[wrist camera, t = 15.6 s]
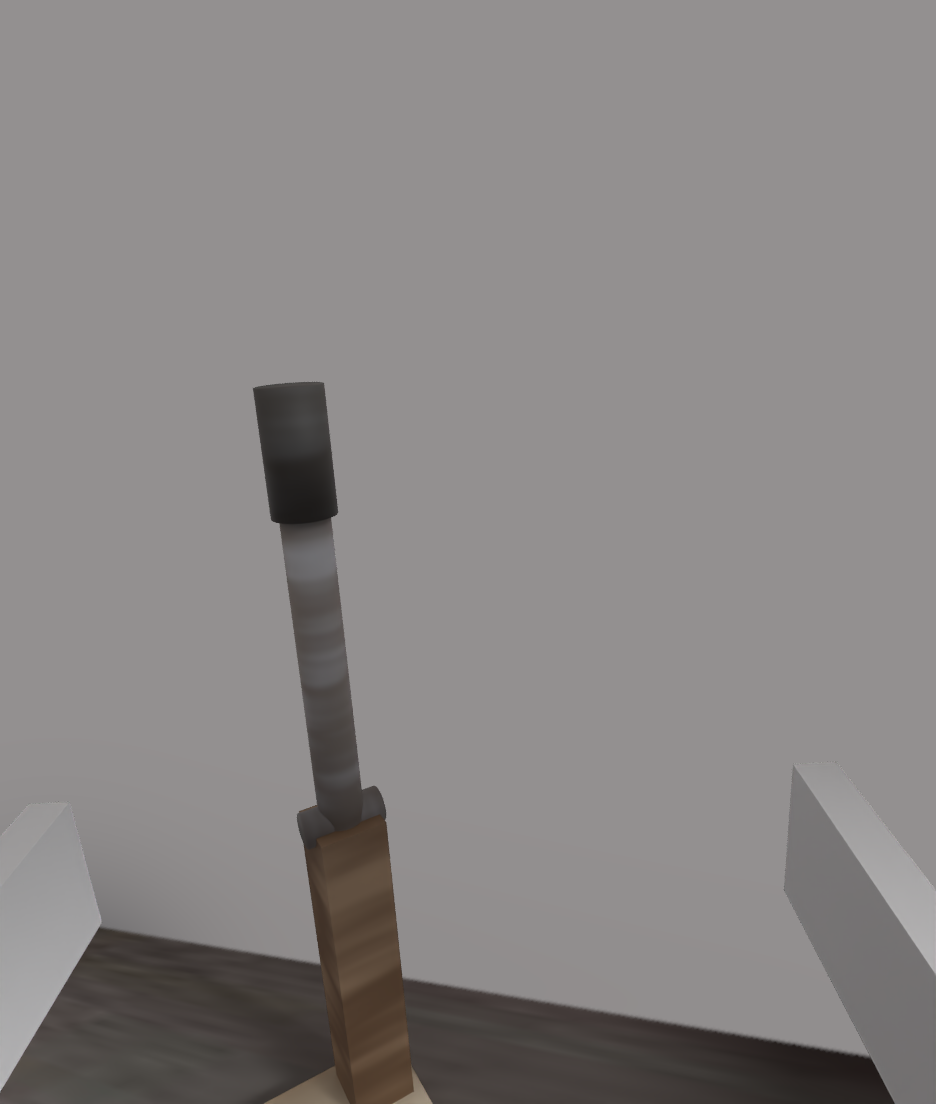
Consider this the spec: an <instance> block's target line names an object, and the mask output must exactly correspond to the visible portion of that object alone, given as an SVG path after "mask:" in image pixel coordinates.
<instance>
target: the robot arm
mask: <svg viewBox="0 0 936 1104" xmlns="http://www.w3.org/2000/svg"><path fill="white" fill-rule="evenodd" d="M787 841H788V842H787V854H786V855H787V856H786V868H785V883H784V891H785V893H786V895H787V897H788V898H789V901H790V903H791V904H792V906H793V908H794V910H795V912H796V914H797V916H798V918H799V920H800V922H801V923H802V925H803V927H804V930H805V931H806V933H807V935H808V937H809V939H810V941H811V943H812V945H813V947H814V949H815V951H816V952H817V955H818V957H819V958H820V960H821V962H822V964H823V966H824V968H825V970H826V972H827V974H828V976H829V978H830V980H831V982H832V983H833V985H834V987H835V989H836V991H837V993H838V995H839V997H840V999H841V1001H842V1003H843V1005H844V1007H845V1009H846V1010H847V1012H848V1014H849V1016H850V1018H851V1020H852V1022H853V1024H854V1026H855V1027H856V1030H857V1032H858V1034H859V1036H860V1037H861V1039H862V1041H863V1043H864V1045H865V1047H866V1049H867V1051H868V1053H869V1055H870V1057H871V1059H872V1061H873V1063H874V1064H875V1066H876V1068H877V1070H878V1072H879V1074H880V1076H881V1078H882V1080H883V1082H884V1084H885V1086H886V1088H887V1090H888V1091H889V1093H890V1095H891V1097H892V1099H893V1101H894V1103H895V1104H936V889H935V888H934V887H933V886H932V885H931V883H930V882H929V880H928V879H927V878H926V877H925V875H924V874H923V873H922V871H921V870H920V869H919V868H918V866H917V865H916V864H915V862H914V861H913V860H912V859H911V857H910V856H909V855H908V853H907V852H906V851H905V850H904V848H903V847H902V846H901V844H900V843H899V842H898V840H897V839H896V838H895V837H894V835H893V834H892V833H891V832H890V830H889V829H888V828H887V826H886V825H885V824H884V822H883V821H882V820H881V819H880V817H879V816H878V815H877V813H876V812H875V811H874V810H873V808H872V807H871V806H870V804H869V803H868V802H867V801H866V799H865V798H864V797H863V795H862V794H861V793H860V792H859V790H858V789H857V788H856V786H855V785H854V784H853V783H852V781H851V780H850V779H849V777H848V776H847V775H846V773H845V772H844V771H843V770H842V768H841V767H840V766H839V764H838V763H837V762H822V763H804V764H793V771H792V785H791V798H790V812H789V826H788V840H787ZM101 923H102V920H101V916H100V913H99V909H98V906H97V901H96V898H95V894H94V890H93V887H92V883H91V879H90V875H89V872H88V868H87V864H86V860H85V857H84V853H83V849H82V846H81V842H80V838H79V835H78V831H77V827H76V823H75V819H74V816H73V812H72V808H71V805H70V802H59V803H58V802H56V803H38V804H28V805H27V807H26V808H25V809H24V810H23V811H22V813H21V814H19V816H18V817H17V818H16V819H15V820H14V821H13V822H12V824H11V825H10V826H9V827H8V828H7V829H6V830H5V831H4V833H3V834H2V835H1V836H0V1091H1V1090H2V1088H3V1086H4V1085H5V1083H6V1081H7V1080H8V1078H9V1076H10V1075H11V1073H12V1071H13V1070H14V1068H15V1066H16V1065H17V1063H18V1061H19V1060H20V1058H21V1056H22V1055H23V1053H24V1051H25V1050H26V1048H27V1046H28V1045H29V1043H30V1041H31V1040H32V1038H33V1036H34V1035H35V1033H36V1031H37V1030H38V1028H39V1026H40V1025H41V1023H42V1021H43V1020H44V1018H45V1016H46V1015H47V1013H48V1011H49V1010H50V1008H51V1006H52V1005H53V1003H54V1001H55V1000H56V998H57V996H58V995H59V993H60V991H61V990H62V988H63V986H64V985H65V983H66V981H67V980H68V978H69V976H70V975H71V973H72V971H73V970H74V968H75V966H76V965H77V963H78V961H79V960H80V958H81V956H82V955H83V953H84V951H85V950H86V948H87V946H88V945H89V943H90V941H91V940H92V938H93V936H94V935H95V933H96V931H97V930H98V928H99V926H100V925H101Z"/></svg>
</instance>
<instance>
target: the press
mask: <svg viewBox="0 0 936 1104" xmlns="http://www.w3.org/2000/svg"><path fill="white" fill-rule="evenodd" d="M253 391H254V399H255V406H256V413H257V420H258V428H259V435H260V443H261V450H262V456H263V464H264V471H265V479H266V486H267V493H268V501H269V507H270V514H271V515H270V516H271V520H272V521H273V522H276V523H280V531H281V538H282V545H283V553H284V560H285V568H286V575H287V583H288V590H289V597H290V605H291V613H292V620H293V628H294V635H295V642H296V650H297V658H298V665H299V673H300V679H301V688H302V695H303V702H304V710H305V717H306V725H307V732H308V740H309V747H310V755H311V762H312V770H313V777H314V785H315V792H316V800H317V805H315V806H312V807H310V808H307V809H304V810H302V811H299V813H298V814H297V822H298V827H299V831H300V835H301V838H302V840H303V843H304V850H305V857H306V864H307V871H308V878H309V885H310V892H311V899H312V906H313V913H314V920H315V927H316V934H317V941H318V948H319V955H320V962H321V969H322V976H323V983H324V990H325V997H326V1004H327V1011H328V1018H329V1026H330V1033H331V1040H332V1047H333V1054H334V1061H335V1066H333V1067H331V1068H329V1069H328V1070H326V1071H324V1072H322V1073H320V1074H318V1075H316V1076H314V1077H313V1078H311V1079H309V1080H307V1081H305V1082H303V1083H301V1084H299V1085H298V1086H296V1087H294V1088H292V1089H290V1090H288V1091H286V1092H284V1093H283V1094H281V1095H279V1096H277V1097H275V1098H273V1099H271V1100H269V1101H268V1102H266V1103H264V1104H432V1102H431V1100H430V1098H429V1097H428V1095H427V1093H426V1091H425V1089H424V1088H423V1086H422V1084H421V1082H420V1080H419V1079H418V1077H417V1075H416V1073H415V1071H414V1070H413V1068H412V1066H411V1058H410V1048H409V1038H408V1028H407V1019H406V1009H405V999H404V990H403V980H402V970H401V960H400V952H399V942H398V931H397V922H396V912H395V903H394V893H393V883H392V873H391V863H390V854H389V845H388V834H387V825H386V822H385V819H386V809H385V804H384V801H383V798H382V795H381V793H380V791H379V790H378V788H377V787H376V786H372V787H369V788H366V789H363V790H362V789H361V781H360V771H359V762H358V754H357V744H356V736H355V727H354V718H353V709H352V700H351V691H350V682H349V674H348V664H347V656H346V647H345V638H344V629H343V620H342V612H341V603H340V593H339V585H338V576H337V567H336V558H335V549H334V540H333V531H332V523H331V517H333V516H335V515H337V513H338V507H337V499H336V489H335V479H334V470H333V462H332V452H331V443H330V434H329V425H328V416H327V406H326V397H325V389H324V383H321V382H299V383H285V384H274V385H266V386H260V387H255V388H253Z"/></svg>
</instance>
